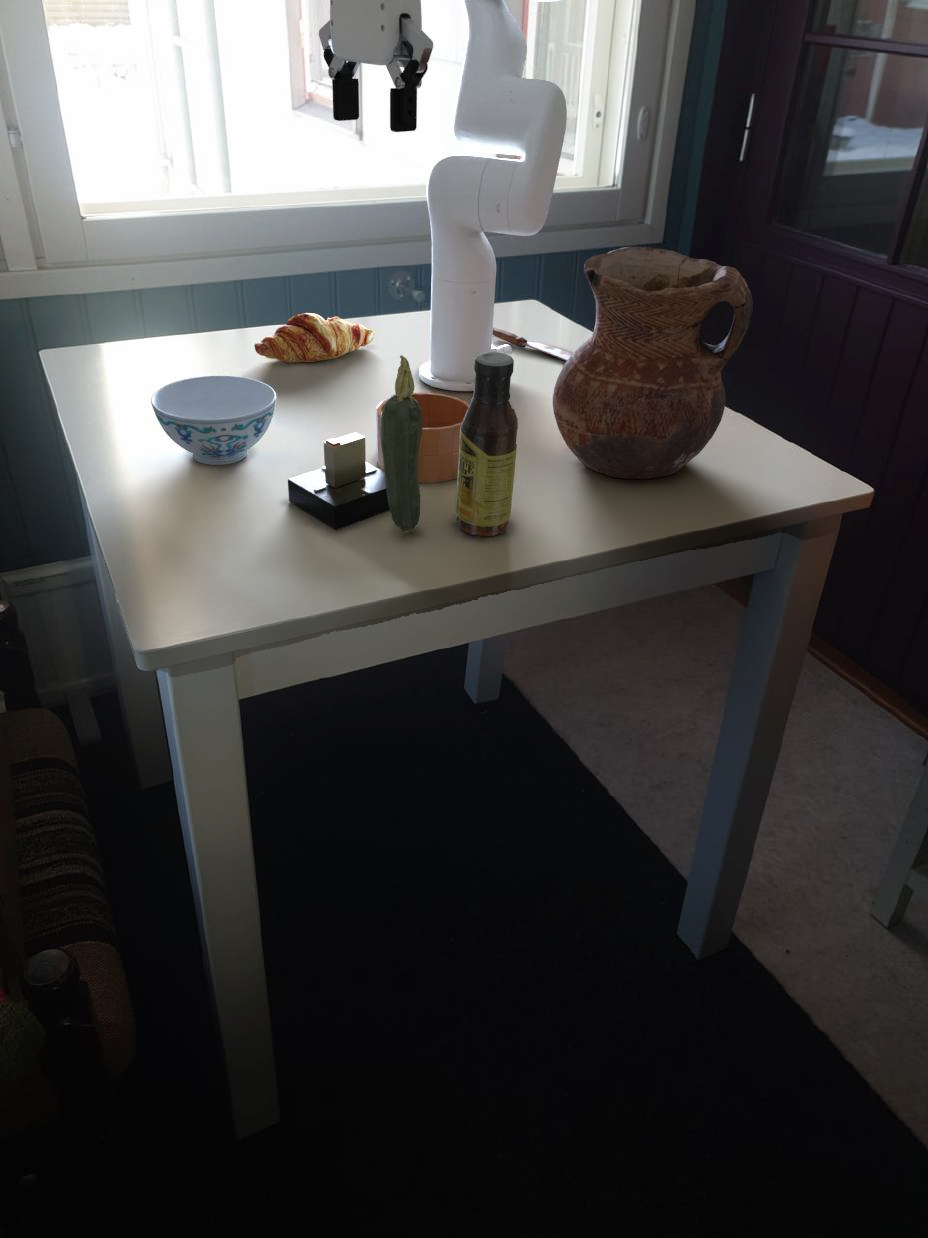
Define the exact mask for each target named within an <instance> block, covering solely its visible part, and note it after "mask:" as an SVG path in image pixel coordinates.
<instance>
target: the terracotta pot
mask: <svg viewBox="0 0 928 1238" xmlns="http://www.w3.org/2000/svg"><path fill="white" fill-rule="evenodd" d="M411 396H412V397H413V398H414V399H415V400H416V401H417V402H418V404H419V405H420V408H421V411H422V418H423V427H422V435H421V441H420V448H419V455H418V483H423V484H424V483H426V484H427V483H429V484H430V483H441V482H447V481H453V480H457V479H458V459H459V442H460V427H461V424H462V422H463V419H464V417H465V414H466V412H467V410H468V407H469V405H470V402H468V401H466V400H465V399H461V398H459V397H456V396H452V395H448V394H443V393H435V392H413V394H411ZM389 398H390V397H387V398H386V399H384V400H382V401H380V403H379V404H378V405H377V406H376V460H377V461H376V462H377V465H378V468H379V469H380V470H382V471H384V472H385V467H384V459H383V453H382V447H381V416H382V411H383V407H384V405H385V403H386V402H387V400H388V399H389Z"/></svg>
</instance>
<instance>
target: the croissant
mask: <svg viewBox="0 0 928 1238" xmlns="http://www.w3.org/2000/svg"><path fill="white" fill-rule="evenodd" d="M374 338H375V331H374V329H372V328H369V329H368V328H367V327H365V326H364V325H362V324H360V323H358V322H355V323H351V322H349V321H345V320H344V319H342V318H340V317H339V316H332V317H327V319H326V320H325V319H324V317H322V316H321V315H319V314H318V313H310V312H305V313H301V314H300V313H299V314H295V315H293V316H291V317H290V318H289V319H287V320H286V324H285V325H282V326H280V327H278V328H277V329H275V332H274V333H273V335H266V336H265V337H264V338H263V339H262V340H261V341H260V342H256V343H254V350H255V352H256V354H258V355H259V356H262V357H265V358H266V359H271V360H278V361H281V362H284V363H286V362H287V363H290V364H291V363H292V364H293V363H296V362H298V363H301V362H303V363H312V362H313V363H314V362H319V361H324V360H333V359H336V358H339V357H343V356H344V355H345V354H347V353H352V352H354V351H356V350H357V349H359V348H360V347H365V346H368V345H369V344H370V343H372V342H373V340H374Z"/></svg>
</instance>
